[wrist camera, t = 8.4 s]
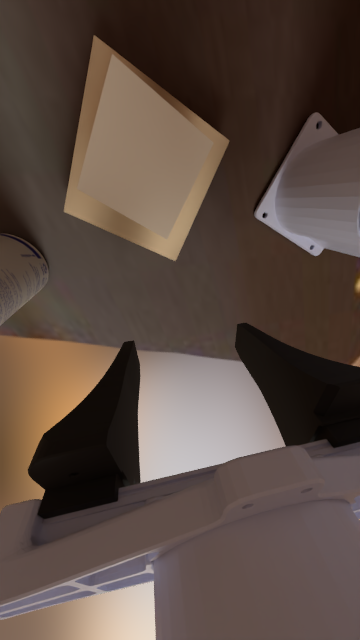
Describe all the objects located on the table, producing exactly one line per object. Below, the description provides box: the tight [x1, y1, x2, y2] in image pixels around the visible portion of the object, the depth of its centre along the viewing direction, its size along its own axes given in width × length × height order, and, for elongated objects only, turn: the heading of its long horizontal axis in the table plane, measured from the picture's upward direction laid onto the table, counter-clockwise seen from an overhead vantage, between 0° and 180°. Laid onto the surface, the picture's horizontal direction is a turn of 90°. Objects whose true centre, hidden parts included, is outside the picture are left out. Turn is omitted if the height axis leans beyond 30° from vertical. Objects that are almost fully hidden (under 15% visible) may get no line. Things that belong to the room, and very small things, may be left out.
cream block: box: [77, 54, 213, 239], centre depth 12 cm, size 5×5×5 cm
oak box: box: [64, 35, 229, 261], centre depth 15 cm, size 9×9×3 cm
